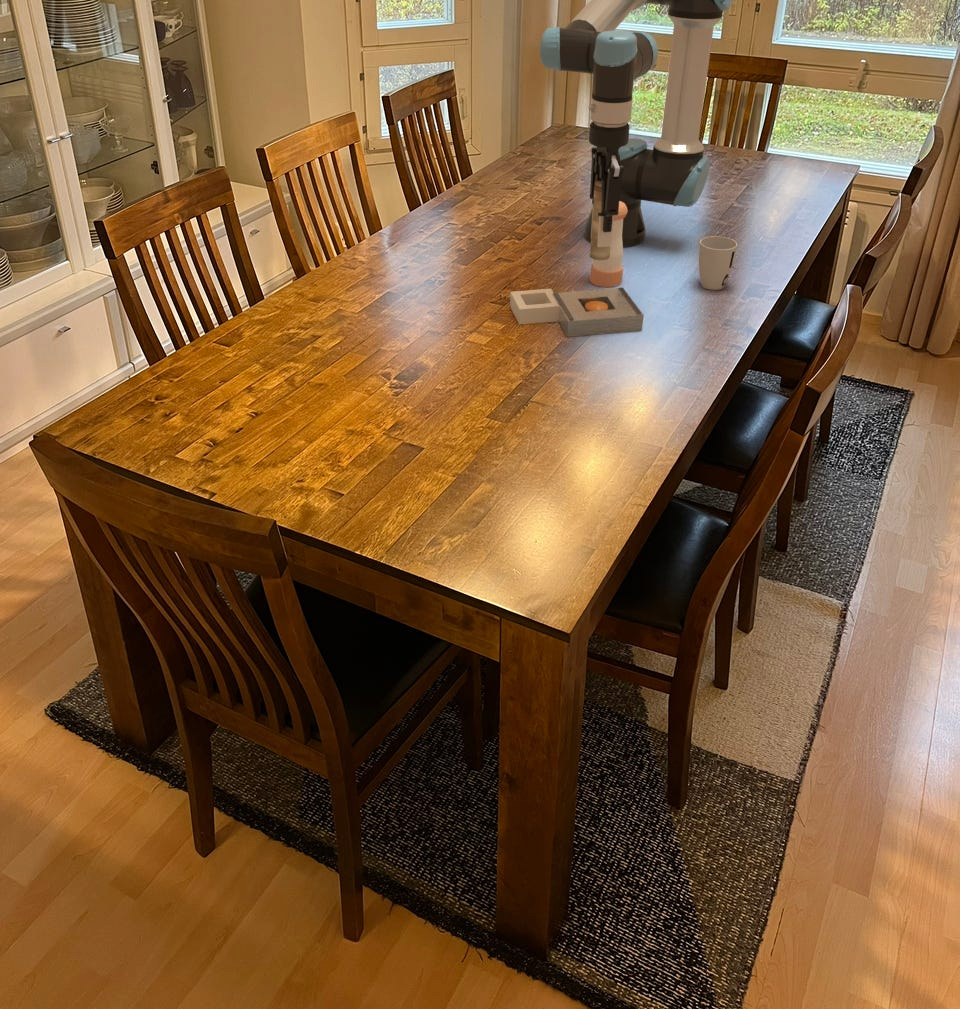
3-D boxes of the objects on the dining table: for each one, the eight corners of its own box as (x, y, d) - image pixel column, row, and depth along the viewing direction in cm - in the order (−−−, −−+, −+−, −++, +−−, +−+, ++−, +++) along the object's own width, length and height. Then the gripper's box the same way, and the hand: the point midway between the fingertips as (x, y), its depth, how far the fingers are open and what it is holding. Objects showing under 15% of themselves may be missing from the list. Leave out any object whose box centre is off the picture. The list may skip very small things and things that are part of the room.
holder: (510, 306, 217) (510, 291, 215) (550, 303, 218) (551, 288, 216) (519, 324, 210) (519, 309, 208) (560, 321, 211) (561, 305, 209)
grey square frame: (550, 308, 216) (551, 292, 214) (621, 302, 218) (623, 286, 216) (567, 337, 205) (568, 320, 203) (642, 330, 207) (643, 313, 205)
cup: (730, 294, 222) (737, 251, 216) (693, 291, 223) (699, 248, 218) (730, 279, 228) (737, 237, 223) (694, 276, 230) (700, 234, 224)
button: (582, 305, 212) (582, 301, 211) (603, 304, 213) (604, 300, 212) (588, 315, 208) (588, 311, 208) (610, 313, 209) (610, 309, 208)
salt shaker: (626, 277, 229) (633, 195, 218) (616, 289, 224) (623, 205, 213) (596, 272, 232) (602, 190, 221) (585, 284, 227) (590, 200, 215)
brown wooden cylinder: (587, 253, 205) (592, 180, 196) (606, 252, 205) (612, 179, 196) (592, 261, 201) (598, 186, 193) (612, 259, 202) (618, 185, 193)
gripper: (578, 111, 194) (571, 228, 208) (603, 135, 181) (594, 259, 194) (615, 109, 195) (606, 226, 209) (643, 133, 182) (631, 256, 195)
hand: (600, 241), depth 201 cm, fingers closed on brown wooden cylinder, 4 cm apart
